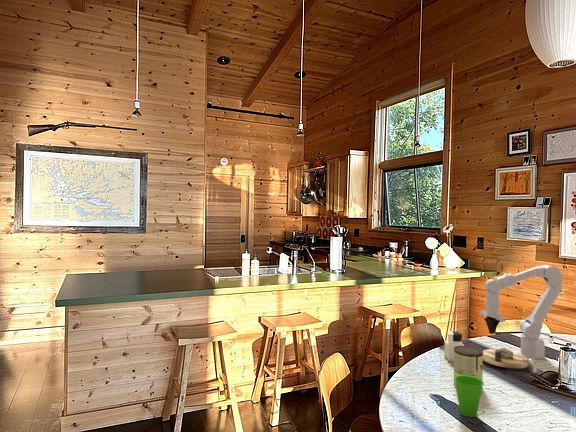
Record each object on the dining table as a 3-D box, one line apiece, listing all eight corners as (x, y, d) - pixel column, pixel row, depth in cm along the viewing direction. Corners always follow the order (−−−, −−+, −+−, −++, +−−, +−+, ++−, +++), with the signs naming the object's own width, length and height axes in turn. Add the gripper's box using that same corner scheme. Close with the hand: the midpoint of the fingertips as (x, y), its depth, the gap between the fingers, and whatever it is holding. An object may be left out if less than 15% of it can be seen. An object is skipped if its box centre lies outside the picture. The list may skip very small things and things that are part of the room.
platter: (489, 349, 197) (489, 338, 197) (536, 360, 182) (536, 348, 182) (472, 359, 183) (472, 347, 183) (522, 372, 169) (522, 358, 169)
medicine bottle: (460, 356, 190) (460, 330, 190) (465, 361, 183) (465, 335, 183) (444, 355, 191) (444, 330, 191) (448, 361, 184) (449, 334, 184)
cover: (498, 352, 188) (498, 345, 188) (515, 356, 183) (515, 349, 183) (493, 356, 183) (493, 349, 183) (510, 360, 178) (510, 353, 178)
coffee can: (452, 379, 163) (453, 344, 163) (480, 383, 160) (481, 347, 160) (453, 389, 154) (454, 352, 154) (484, 394, 150) (484, 355, 150)
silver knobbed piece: (524, 366, 178) (524, 354, 178) (538, 373, 171) (538, 359, 171) (518, 367, 178) (519, 354, 178) (532, 373, 170) (532, 360, 170)
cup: (448, 407, 139) (449, 374, 139) (474, 406, 140) (474, 374, 140) (462, 420, 130) (462, 385, 130) (489, 419, 131) (489, 385, 131)
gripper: (474, 302, 202) (474, 329, 202) (496, 308, 188) (495, 338, 188) (487, 301, 204) (486, 328, 204) (509, 308, 190) (508, 337, 190)
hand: (492, 333), depth 196 cm, fingers closed
